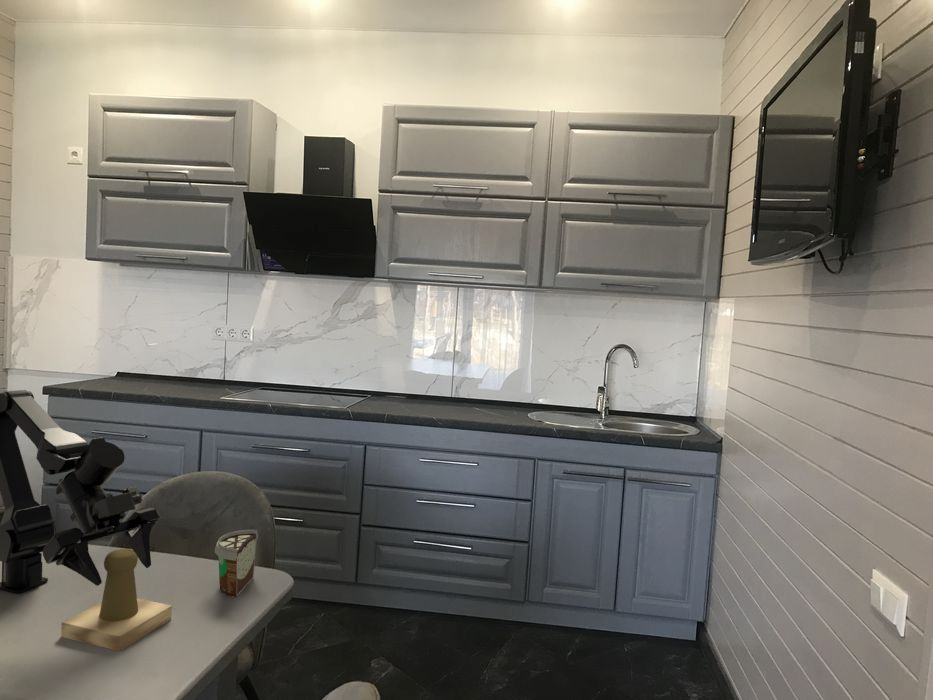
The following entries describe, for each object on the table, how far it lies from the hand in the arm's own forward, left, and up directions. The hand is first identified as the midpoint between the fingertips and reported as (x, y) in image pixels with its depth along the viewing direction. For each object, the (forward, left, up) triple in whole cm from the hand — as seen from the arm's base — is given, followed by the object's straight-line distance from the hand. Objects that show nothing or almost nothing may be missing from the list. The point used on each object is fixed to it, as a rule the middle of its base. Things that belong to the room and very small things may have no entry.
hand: (125, 575), depth 113 cm
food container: (+6, +22, -10) cm, 25 cm away
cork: (-1, 0, -7) cm, 8 cm away
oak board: (-1, 0, -10) cm, 10 cm away
